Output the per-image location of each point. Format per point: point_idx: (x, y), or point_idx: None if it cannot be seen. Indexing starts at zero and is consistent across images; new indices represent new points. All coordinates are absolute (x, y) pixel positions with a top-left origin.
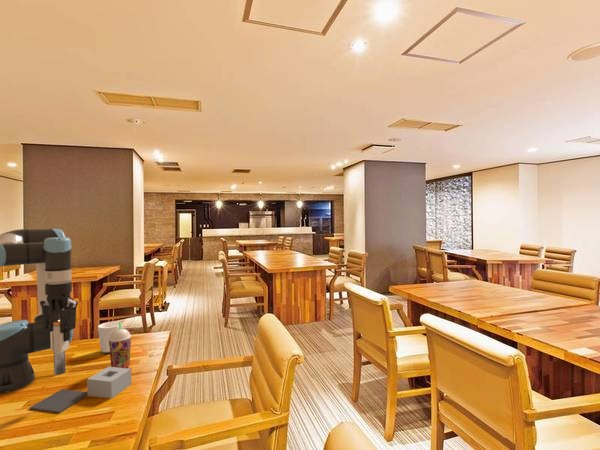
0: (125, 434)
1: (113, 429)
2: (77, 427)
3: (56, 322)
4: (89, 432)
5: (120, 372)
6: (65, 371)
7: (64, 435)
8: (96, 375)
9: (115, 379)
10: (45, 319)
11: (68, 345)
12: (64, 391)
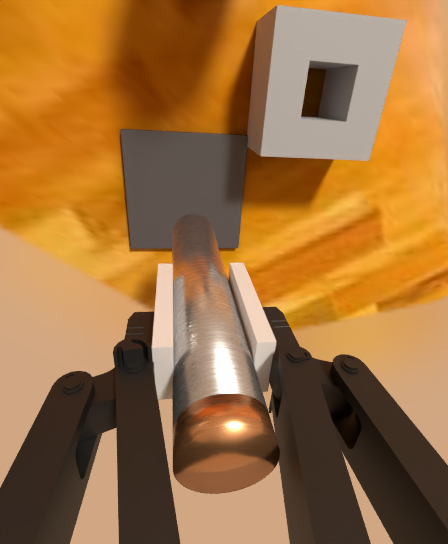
0: (436, 277)
1: (405, 269)
2: (323, 280)
3: (239, 486)
4: (359, 287)
5: (371, 71)
6: (209, 222)
7: (313, 304)
8: (279, 119)
9: (373, 136)
10: (71, 528)
11: (246, 275)
12: (148, 144)
